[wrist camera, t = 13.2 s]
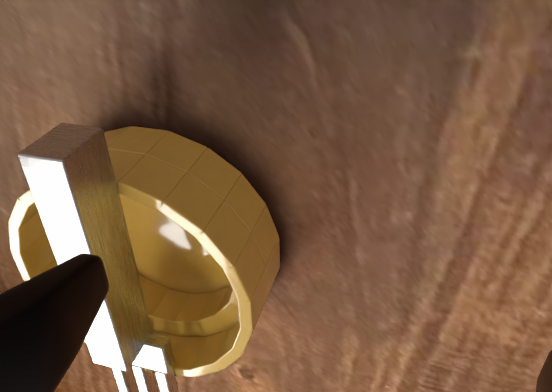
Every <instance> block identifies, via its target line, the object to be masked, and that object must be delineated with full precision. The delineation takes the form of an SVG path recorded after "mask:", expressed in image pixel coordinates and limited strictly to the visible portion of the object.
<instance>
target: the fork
mask: <svg viewBox="0 0 552 392" xmlns="http://www.w3.org/2000/svg"><path fill="white" fill-rule="evenodd" d="M18 158H19V161H20V164H21V166H22V169H23V172H24V175H25V177H26V180H27V183H28V185H29V188H30V191H31V194H32V196H33V199H34V202H35V205H36V207H37V210H38V213H39V215H40V218H41V221H42V224H43V226H44V229H45V232H46V235H47V237H48V240H49V243H50V245H51V248H52V251H53V254H54V256H55V259H56V262H57V265H59V264H61V263H63V262H65V261H67V260H69V259H71V258H73V257H75V256H77V255H79V254H82V253H86V254H91V255H96V256H99V257H100V258H101V259H102V261H103V264H104V267H105V271H106V274H107V278H108V281H109V289H108V293H107V295H106V297H105V299H104V301H103V303H102V305H101V308H100V310H99V312H98V314H97V316H96V318H95V320H94V322H93V324H92V326H91V328H90V330H89V332H88V334H87V336H86V338H85V341H86V344H87V346H88V349H89V352H90V355H91V357H92V360H93V362H94V363H96V364H100V365H104V366H108V367H112V370H113V373H114V376H115V379H116V382H117V385H118V388H119V391H120V392H158V389H157V385H156V381H155V377H154V373H153V370H155V374H156V378H157V382H158V385H159V389H160V392H179V391H178V386H177V382H176V378H175V373H174V369H173V365H174V363H175V358H174V354H173V349H172V345H171V340H170V337H169V336H167V335H163V334H158V333H154V332H153V330H152V326H151V322H150V318H149V314H148V310H147V306H146V302H145V298H144V293H143V289H142V285H141V281H140V277H139V273H138V269H137V265H136V261H135V257H134V253H133V249H132V245H131V240H130V236H129V232H128V228H127V224H126V220H125V216H124V212H123V208H122V204H121V200H120V196H119V191H118V187H117V183H116V179H115V175H114V171H113V167H112V163H111V159H110V155H109V151H108V147H107V143H106V138H105V134H104V130H103V129H102V128H97V127H89V126H82V125H74V124H66V123H60V124H59V125H58V126H56V127H55V128H53V129H52V130H51V131H49V132H48V133H46V134H45V135H43V136H42V137H41V138H39V139H38V140H36V141H35V142H34V143H32V144H31V145H29V146H28V147H26V148H25V149H24V150H22V151H21V152H19V153H18ZM131 365H132V367H131ZM132 368H133V371H132ZM133 372H134V374H133ZM134 375H135V377H134ZM135 378H136V381H135ZM136 382H137V384H136ZM137 385H138V387H137ZM138 388H139V391H138Z"/></svg>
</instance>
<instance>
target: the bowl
mask: <svg viewBox="0 0 552 392" xmlns="http://www.w3.org/2000/svg"><path fill="white" fill-rule="evenodd" d="M104 134H105V138H106V143H107V147H108V151H109V155H110V159H111V163H112V167H113V171H114V175H115V179H116V183H117V187H118V191H119V196H120V200H121V204H122V208H123V212H124V216H125V220H126V224H127V228H128V232H129V236H130V240H131V245H132V249H133V253H134V257H135V261H136V265H137V269H138V273H139V277H140V281H141V285H142V289H143V293H144V298H145V302H146V306H147V310H148V314H149V318H150V322H151V326H152V330H153V332H154V333H158V334H163V335H167V336H169V337H170V340H171V345H172V349H173V354H174V358H175V363H174V365H173V369H174V373H175V376H187V377H198V376H202V375H206V374H210V373H214V372H218V371H222V370H224V369H225V368H226V367H227V366H229V365H230V364H231V363H233V362H234V361H235V360H237V359H238V358H239V357H241V356H242V355H243V353H244V351H245V349H246V346H247V344H248V342H249V339H250V337H251V335H252V333H253V330H254V328H255V325H256V323H257V321H258V318H259V316H260V314H261V311H262V309H263V307H264V304H265V302H266V299H267V297H268V295H269V292H270V290H271V288H272V285H273V283H274V280H275V278H276V276H277V273H278V271H279V269H280V268H279V267H280V242H279V235H278V233H277V230H276V227H275V225H274V222H273V220H272V217H271V215H270V212H269V210H268V207H267V206H266V203H265V202H264V201H263V199H262V198H261V197H260V196H259V194H258V193H257V192H256V191H255V189H254V188H253V187H252V186H251V184H250V183H249V182H248V180H247V179H246V178H245V177H244V175H243V174H241V172H240V171H239V170H237V169H236V168H235V167H233V166H232V165H231V164H229V163H228V162H227V161H225V160H224V159H223V158H221V157H220V156H219V155H218V154H216V153H215V152H214V151H212V150H211V149H210V148H207V147H206V146H204V145H201V144H199V143H197V142H194V141H192V140H190V139H187V138H185V137H183V136H180V135H178V134H176V133H173V132H171V131H167V130H159V129H151V128H143V127H136V126H129V127H125V128H120V129H116V130H111V131H106V132H104ZM8 229H9V241H10V250H11V253H12V256H13V258H14V260H15V263H16V265H17V267H18V270H19V272H20V274H21V277H22V279H23V281H24V282H25V281H27V280H29V279H31V278H33V277H35V276H37V275H39V274H41V273H43V272H45V271H47V270H49V269H51V268H53V267H55V266H57V262H56V259H55V256H54V254H53V251H52V248H51V245H50V243H49V240H48V237H47V235H46V232H45V229H44V226H43V224H42V221H41V218H40V215H39V213H38V210H37V207H36V205H35V202H34V199H33V196H32V194H31V191H30V188H29V189H28V190H26V191H25V192H24V193H23V194H21V195H20V196H19V197H18V198H17V201H16V203H15V206H14V208H13V211H12V213H11V216H10V218H9V221H8ZM84 342H85V343H86V341H85V340H84ZM131 367H132V365H131ZM153 373H155V370H153Z"/></svg>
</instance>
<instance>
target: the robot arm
mask: <svg viewBox="0 0 552 392" xmlns="http://www.w3.org/2000/svg"><path fill="white" fill-rule="evenodd" d="M108 289H109V281H108V278H107V274H106V271H105V267H104V264H103V261H102V259H101V258H100V257H99V256H96V255H91V254H86V253H82V254H79V255H77V256H75V257H73V258H71V259H69V260H67V261H65V262H63V263H61V264H59V265H57V266H55V267H53V268H51V269H49V270H47V271H45V272H43V273H41V274H39V275H37V276H35V277H33V278H31V279H29V280H27V281H25V282H23V283H21V284H19V285H17V286H15V287H13V288H11V289H9V290H7V291H5V292H3V293H1V294H0V392H54V391H55V389H56V388H57V386H58V384H59V383H60V381H61V380H62V378H63V376H64V375H65V373H66V372H67V370H68V368H69V367H70V365H71V364H72V362H73V360H74V359H75V357H76V355H77V353H78V352H79V350H80V348H81V346H82V344H83V342H84V340H85V338H86V336H87V334H88V332H89V330H90V328H91V326H92V324H93V322H94V320H95V318H96V316H97V314H98V312H99V310H100V308H101V305H102V303H103V301H104V299H105V297H106V295H107V293H108ZM536 392H552V351H551V352H550V353H549V355H548V357H547V359H546V361H545V363H544V366H543V368H542V370H541V372H540V374H539V377H538V380H537V387H536Z"/></svg>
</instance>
